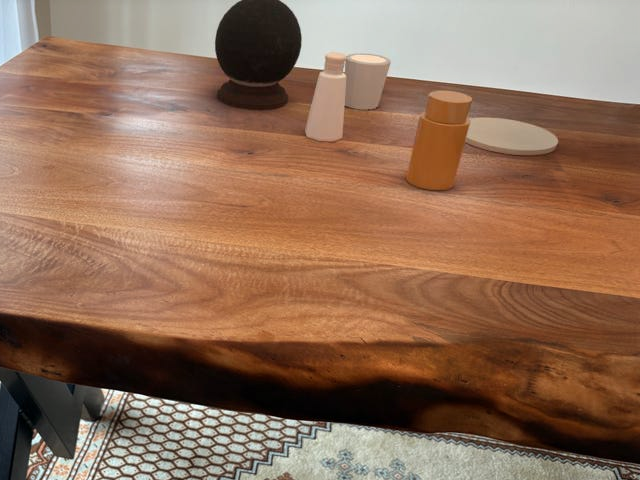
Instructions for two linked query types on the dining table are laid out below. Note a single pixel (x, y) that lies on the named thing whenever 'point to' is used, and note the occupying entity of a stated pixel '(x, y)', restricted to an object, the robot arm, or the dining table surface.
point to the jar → (439, 141)
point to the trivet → (510, 137)
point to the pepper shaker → (328, 101)
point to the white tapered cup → (365, 80)
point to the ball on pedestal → (257, 53)
